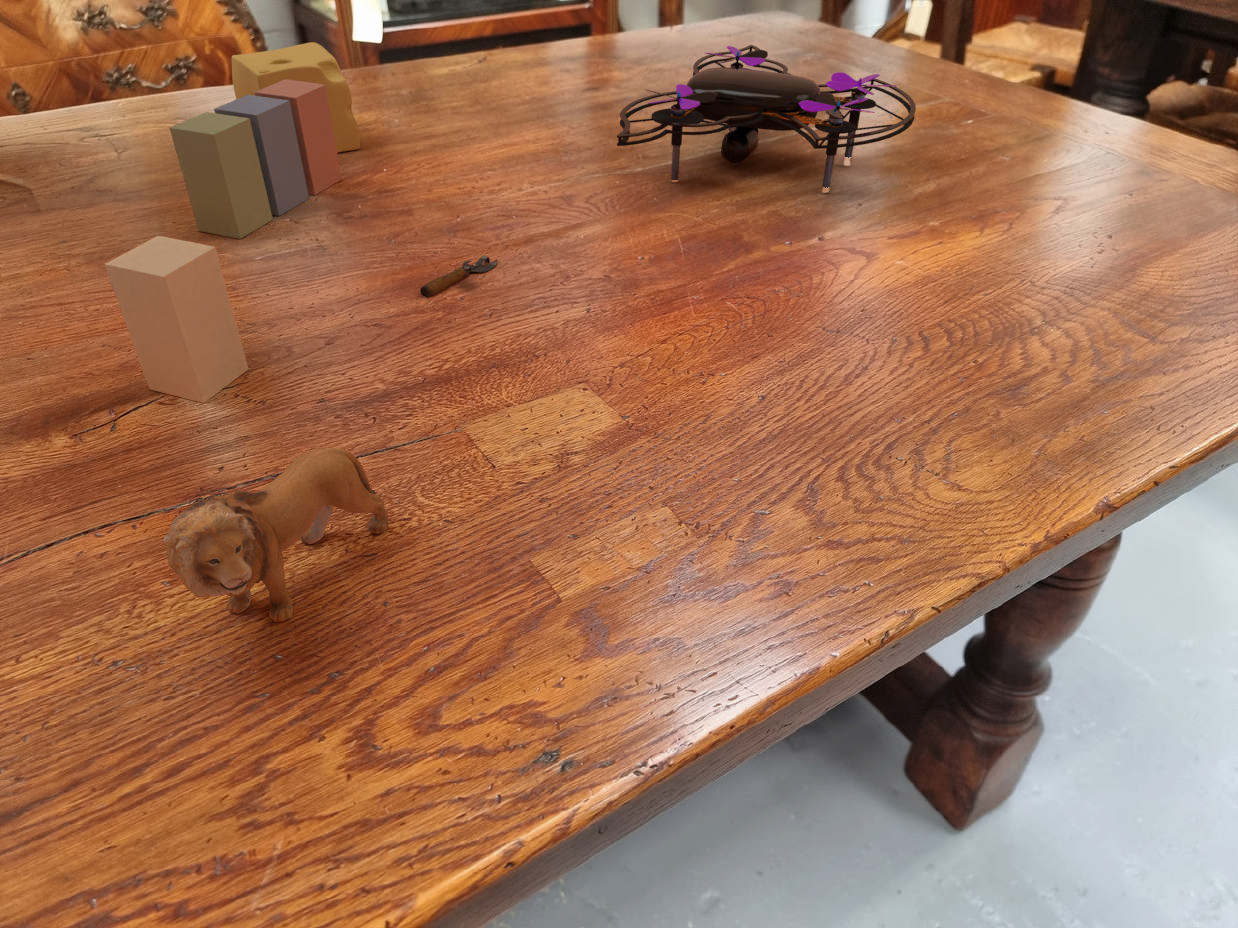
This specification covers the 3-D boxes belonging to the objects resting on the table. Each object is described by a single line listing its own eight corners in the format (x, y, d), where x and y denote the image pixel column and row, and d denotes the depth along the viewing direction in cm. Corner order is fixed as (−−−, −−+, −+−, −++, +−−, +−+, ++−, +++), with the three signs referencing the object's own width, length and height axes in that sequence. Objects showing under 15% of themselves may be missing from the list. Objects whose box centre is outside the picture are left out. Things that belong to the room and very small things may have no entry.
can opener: (428, 300, 80) (426, 288, 79) (411, 292, 81) (409, 280, 80) (504, 266, 85) (503, 255, 84) (486, 259, 86) (485, 248, 86)
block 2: (148, 389, 68) (103, 263, 62) (195, 356, 71) (158, 235, 65) (204, 403, 66) (163, 276, 60) (249, 369, 70) (215, 246, 64)
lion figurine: (262, 683, 47) (216, 553, 41) (176, 655, 48) (120, 525, 42) (409, 506, 58) (389, 385, 52) (336, 487, 59) (308, 367, 53)
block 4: (275, 188, 99) (254, 92, 93) (304, 173, 103) (285, 79, 96) (315, 195, 98) (295, 97, 91) (342, 179, 101) (325, 84, 95)
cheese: (363, 150, 109) (349, 60, 103) (272, 167, 104) (251, 74, 98) (331, 126, 115) (316, 40, 109) (244, 141, 111) (223, 52, 105)
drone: (727, 26, 118) (950, 52, 109) (721, 104, 124) (932, 135, 115) (586, 112, 90) (872, 157, 80) (587, 208, 96) (853, 260, 86)
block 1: (198, 231, 90) (168, 127, 84) (232, 212, 94) (206, 111, 88) (240, 239, 89) (213, 134, 82) (273, 220, 92) (249, 118, 86)
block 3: (238, 209, 94) (213, 108, 88) (269, 192, 98) (247, 94, 92) (279, 216, 93) (256, 115, 87) (309, 198, 97) (289, 100, 91)
